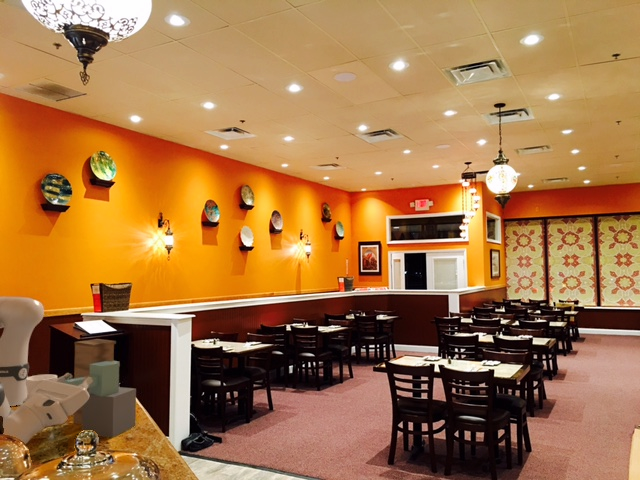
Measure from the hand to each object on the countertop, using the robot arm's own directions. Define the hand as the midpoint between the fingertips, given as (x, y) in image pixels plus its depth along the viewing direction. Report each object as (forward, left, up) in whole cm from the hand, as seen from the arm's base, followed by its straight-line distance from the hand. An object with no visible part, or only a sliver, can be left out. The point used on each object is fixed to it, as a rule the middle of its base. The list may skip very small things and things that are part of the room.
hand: (80, 376), depth 156 cm
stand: (-8, +16, -18) cm, 26 cm away
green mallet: (+1, +4, -6) cm, 8 cm away
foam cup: (-29, +16, -19) cm, 38 cm away
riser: (+3, +10, -18) cm, 21 cm away
